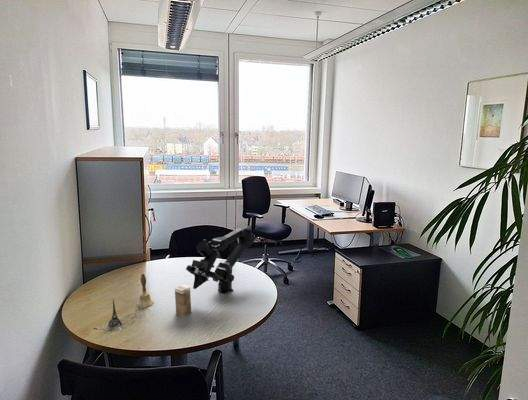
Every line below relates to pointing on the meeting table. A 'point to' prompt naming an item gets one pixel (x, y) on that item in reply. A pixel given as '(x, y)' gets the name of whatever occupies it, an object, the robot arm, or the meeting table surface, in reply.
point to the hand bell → (144, 295)
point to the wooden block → (183, 300)
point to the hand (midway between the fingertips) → (194, 288)
